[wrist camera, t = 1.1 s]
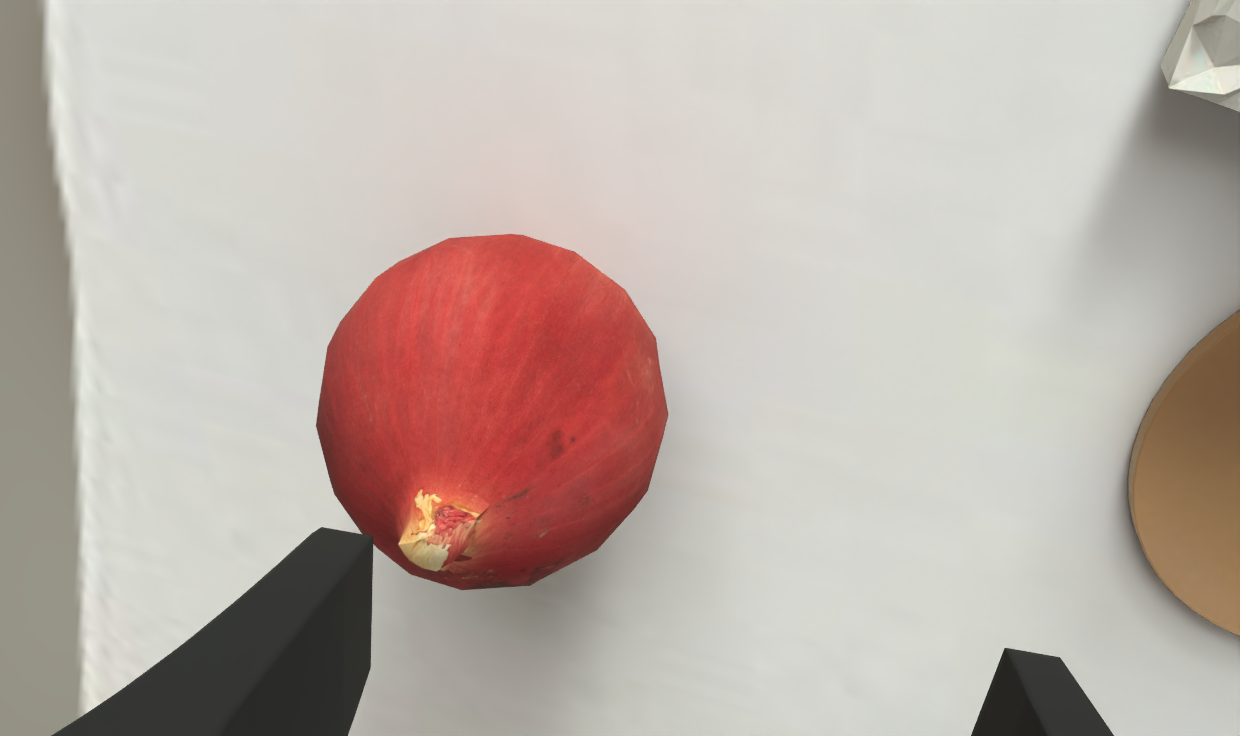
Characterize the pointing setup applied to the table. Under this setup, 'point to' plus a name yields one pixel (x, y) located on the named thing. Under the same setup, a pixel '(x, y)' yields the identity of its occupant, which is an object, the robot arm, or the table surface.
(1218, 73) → the packaged product
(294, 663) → the robot arm
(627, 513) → the onion
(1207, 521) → the coaster
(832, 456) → the table surface
